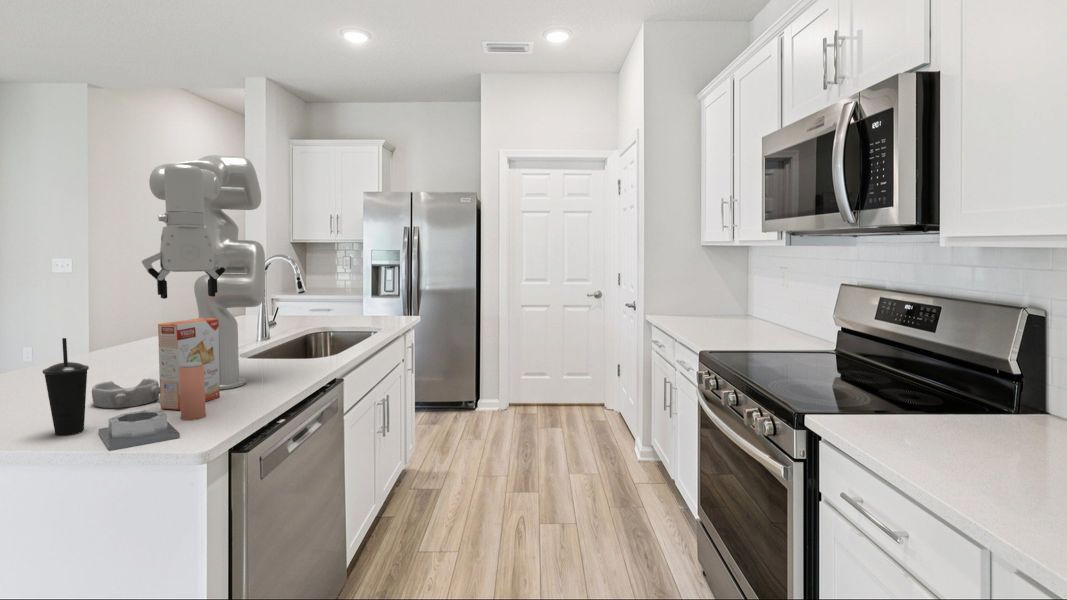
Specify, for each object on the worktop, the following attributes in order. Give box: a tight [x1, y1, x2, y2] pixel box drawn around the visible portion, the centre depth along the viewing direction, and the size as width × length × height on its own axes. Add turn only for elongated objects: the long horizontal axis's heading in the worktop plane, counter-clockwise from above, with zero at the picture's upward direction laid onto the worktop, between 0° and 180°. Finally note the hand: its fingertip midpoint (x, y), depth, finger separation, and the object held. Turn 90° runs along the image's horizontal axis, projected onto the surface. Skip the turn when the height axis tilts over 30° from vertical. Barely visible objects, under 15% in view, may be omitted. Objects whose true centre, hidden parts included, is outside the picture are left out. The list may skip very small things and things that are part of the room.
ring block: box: [97, 409, 181, 451], centre depth 125 cm, size 14×12×4 cm
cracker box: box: [157, 317, 221, 411], centre depth 151 cm, size 14×6×21 cm, turn 168°
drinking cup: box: [42, 337, 90, 437], centre depth 126 cm, size 8×8×20 cm
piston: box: [179, 361, 207, 421], centre depth 139 cm, size 5×5×13 cm
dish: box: [91, 378, 160, 409], centre depth 151 cm, size 14×14×5 cm
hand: (188, 297), depth 137 cm, fingers open, 9 cm apart
